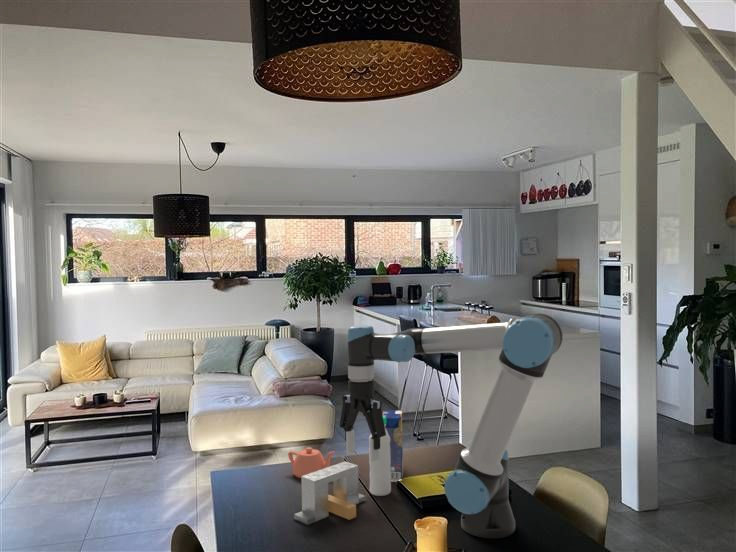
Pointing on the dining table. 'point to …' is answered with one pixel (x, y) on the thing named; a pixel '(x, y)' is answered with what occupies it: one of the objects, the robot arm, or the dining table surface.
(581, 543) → the dining table surface
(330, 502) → the mallet
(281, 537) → the dining table surface
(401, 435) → the beverage box
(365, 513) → the dining table surface
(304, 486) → the white arch block
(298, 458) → the teapot
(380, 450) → the water bottle
